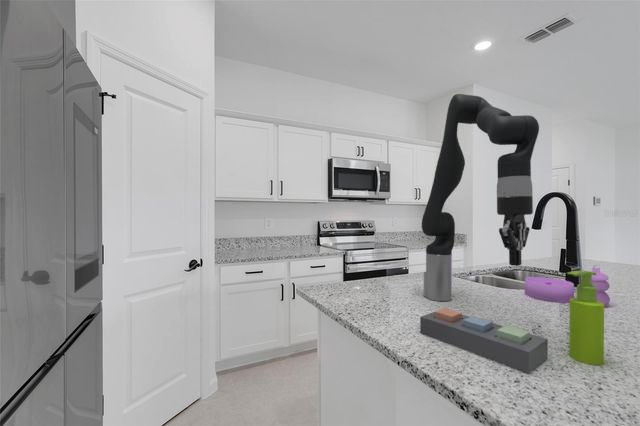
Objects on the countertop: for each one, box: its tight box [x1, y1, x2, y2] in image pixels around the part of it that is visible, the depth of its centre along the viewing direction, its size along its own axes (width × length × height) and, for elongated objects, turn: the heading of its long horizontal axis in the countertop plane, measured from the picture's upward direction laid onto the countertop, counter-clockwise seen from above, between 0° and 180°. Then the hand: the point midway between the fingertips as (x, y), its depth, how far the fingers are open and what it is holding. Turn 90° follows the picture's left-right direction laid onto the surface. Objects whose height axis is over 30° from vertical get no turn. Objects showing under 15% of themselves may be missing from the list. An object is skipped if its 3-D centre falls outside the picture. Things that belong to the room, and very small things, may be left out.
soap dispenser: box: [566, 270, 605, 366], centre depth 69 cm, size 6×7×20 cm
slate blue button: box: [463, 315, 494, 333], centre depth 76 cm, size 5×5×3 cm
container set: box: [524, 267, 611, 308], centre depth 115 cm, size 25×15×13 cm, turn 45°
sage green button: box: [497, 325, 531, 345], centre depth 70 cm, size 5×5×3 cm
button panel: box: [419, 311, 549, 375], centre depth 76 cm, size 26×11×4 cm, turn 37°
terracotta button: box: [434, 307, 463, 323], centre depth 82 cm, size 5×5×3 cm
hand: (515, 265), depth 75 cm, fingers closed
